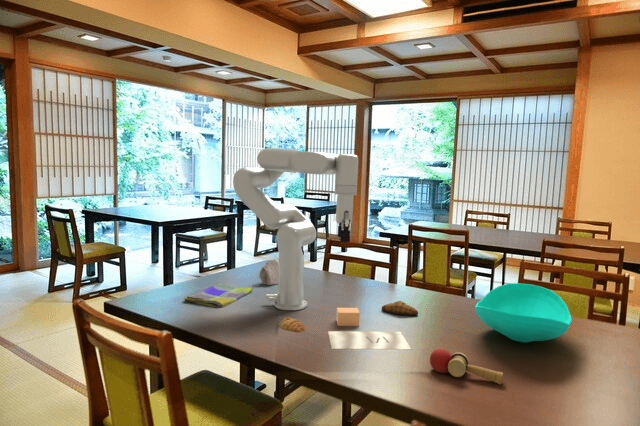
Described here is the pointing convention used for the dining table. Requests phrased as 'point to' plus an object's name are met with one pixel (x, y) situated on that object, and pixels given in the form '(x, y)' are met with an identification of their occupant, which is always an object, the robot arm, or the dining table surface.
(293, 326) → the pastry
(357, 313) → the block
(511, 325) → the table top decor
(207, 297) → the dish towel
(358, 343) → the ash board
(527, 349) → the dining table surface
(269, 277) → the pumice stone
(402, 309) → the croissant
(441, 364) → the kendama
